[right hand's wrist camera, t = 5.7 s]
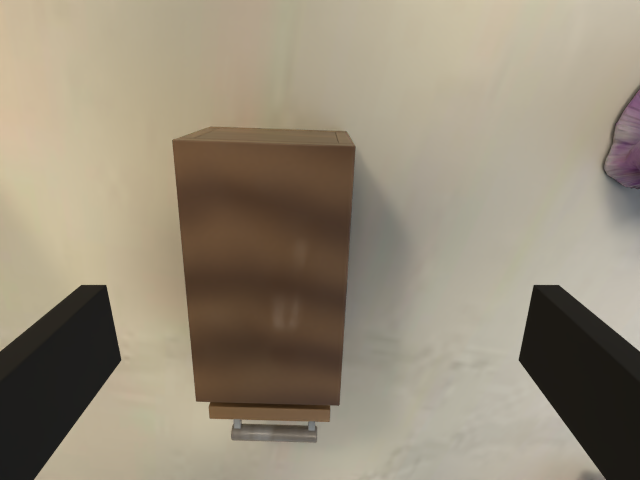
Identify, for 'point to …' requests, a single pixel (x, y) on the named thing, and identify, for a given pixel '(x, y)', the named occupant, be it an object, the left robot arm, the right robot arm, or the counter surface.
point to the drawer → (271, 413)
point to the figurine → (626, 147)
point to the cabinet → (265, 261)
